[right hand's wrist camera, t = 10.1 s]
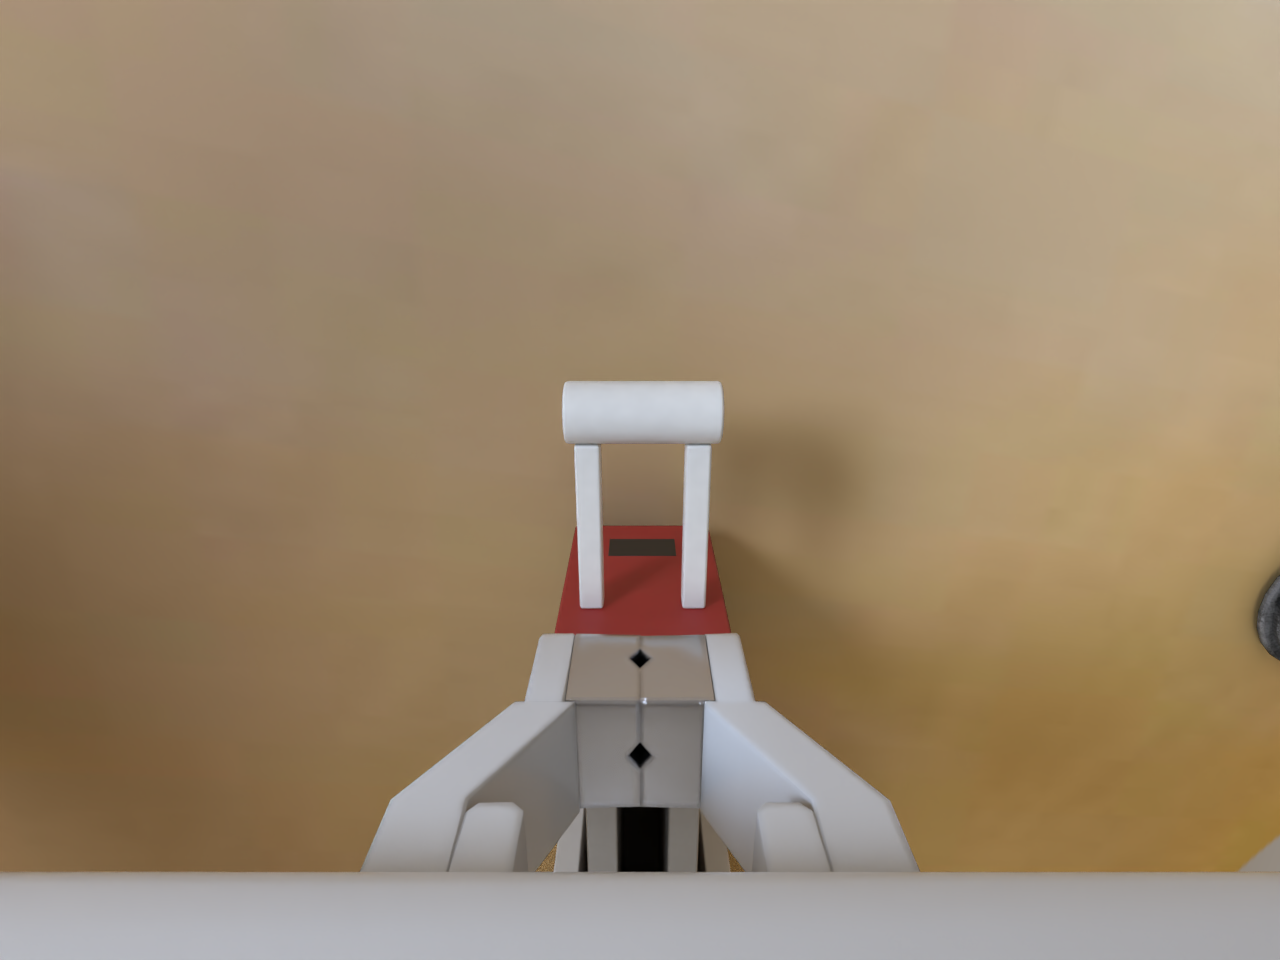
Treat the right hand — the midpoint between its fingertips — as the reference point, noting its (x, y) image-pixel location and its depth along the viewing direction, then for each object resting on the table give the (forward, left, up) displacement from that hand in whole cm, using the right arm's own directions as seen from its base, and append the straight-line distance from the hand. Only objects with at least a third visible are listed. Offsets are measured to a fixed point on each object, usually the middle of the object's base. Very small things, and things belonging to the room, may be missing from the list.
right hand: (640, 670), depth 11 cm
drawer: (+7, -4, -11) cm, 14 cm away
